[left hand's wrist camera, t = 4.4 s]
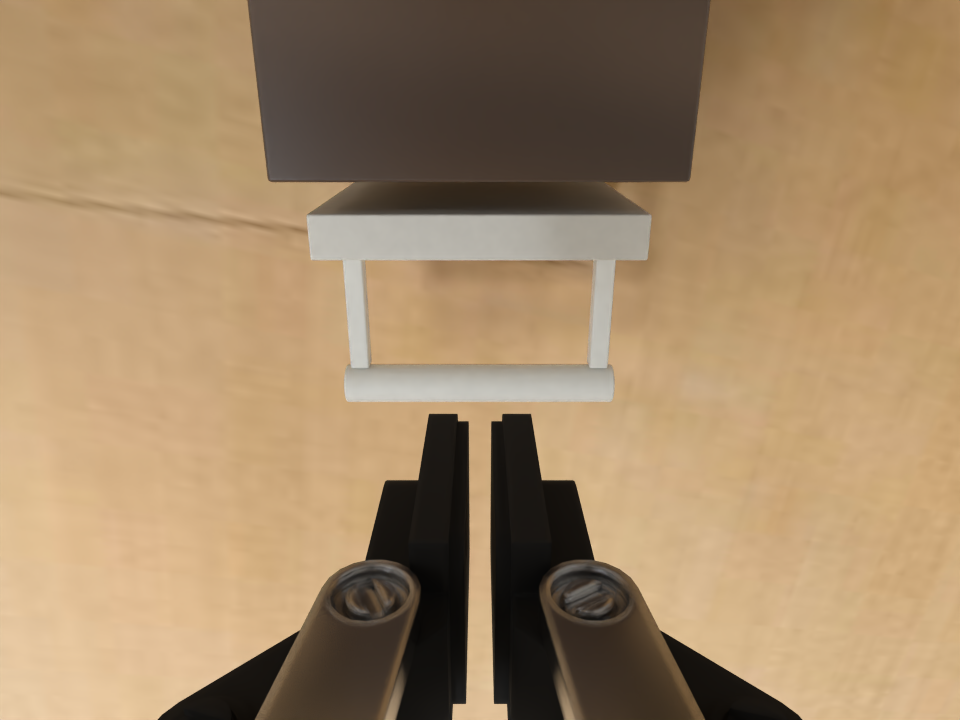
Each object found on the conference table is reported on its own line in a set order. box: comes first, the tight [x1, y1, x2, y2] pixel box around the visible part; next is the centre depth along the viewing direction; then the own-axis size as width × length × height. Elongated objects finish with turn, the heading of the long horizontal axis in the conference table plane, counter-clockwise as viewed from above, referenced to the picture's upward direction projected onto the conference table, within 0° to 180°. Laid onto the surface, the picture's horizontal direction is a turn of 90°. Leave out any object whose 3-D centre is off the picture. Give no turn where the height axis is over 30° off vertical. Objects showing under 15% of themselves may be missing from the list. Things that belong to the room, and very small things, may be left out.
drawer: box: [307, 182, 652, 402], centre depth 20 cm, size 17×9×7 cm, turn 0°
